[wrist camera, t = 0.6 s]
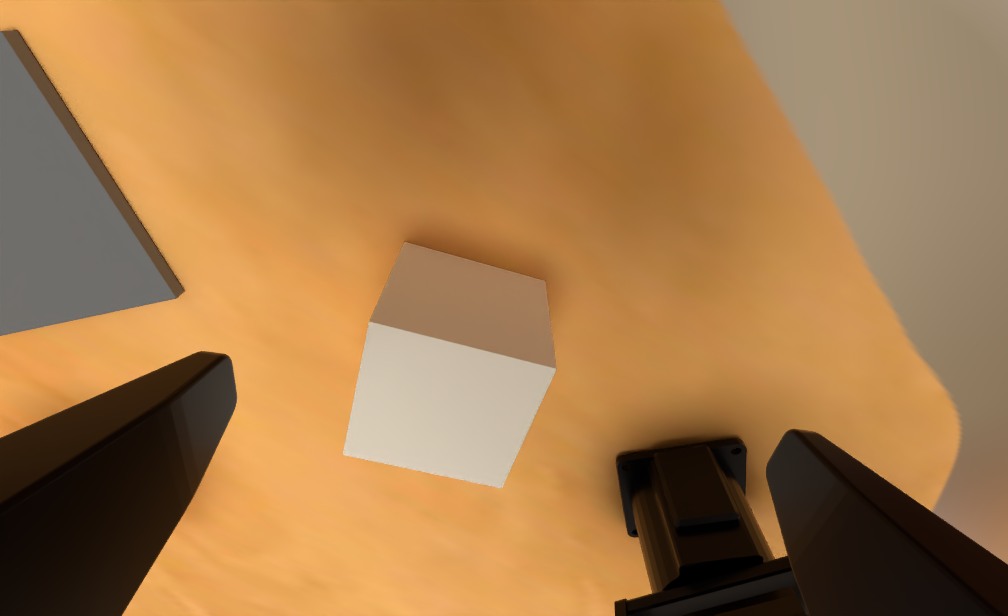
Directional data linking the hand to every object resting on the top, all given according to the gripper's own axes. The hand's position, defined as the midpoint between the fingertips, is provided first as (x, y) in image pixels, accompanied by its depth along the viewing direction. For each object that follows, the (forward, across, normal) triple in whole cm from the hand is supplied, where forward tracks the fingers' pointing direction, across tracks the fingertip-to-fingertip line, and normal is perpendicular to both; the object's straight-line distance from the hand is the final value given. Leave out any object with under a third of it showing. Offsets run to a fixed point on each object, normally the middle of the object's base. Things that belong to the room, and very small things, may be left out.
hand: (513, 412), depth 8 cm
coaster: (+12, +20, +4) cm, 23 cm away
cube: (+13, +2, +6) cm, 14 cm away
